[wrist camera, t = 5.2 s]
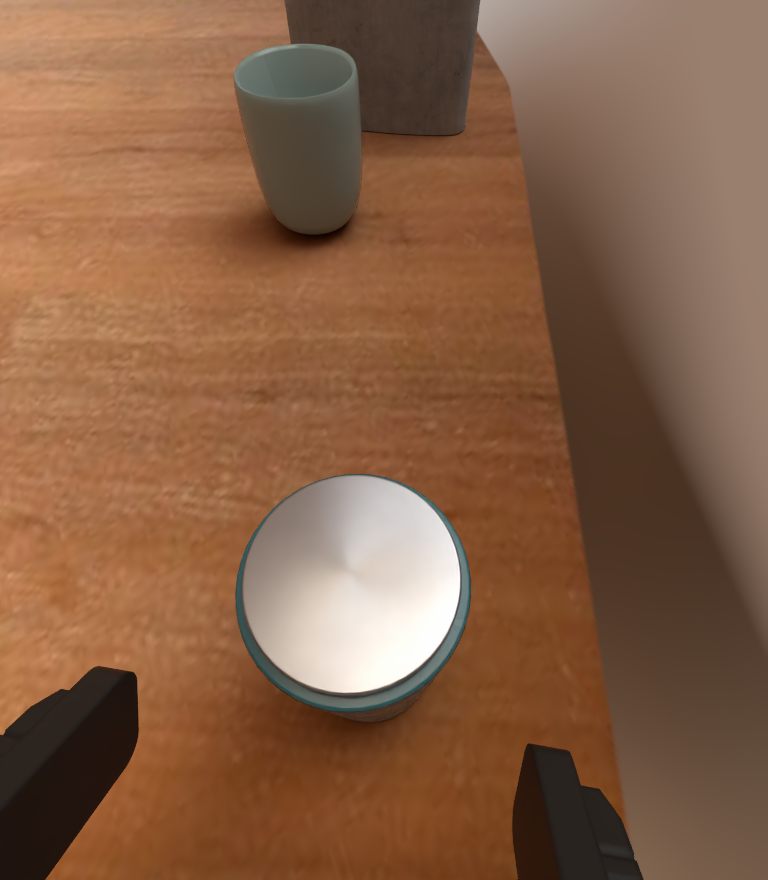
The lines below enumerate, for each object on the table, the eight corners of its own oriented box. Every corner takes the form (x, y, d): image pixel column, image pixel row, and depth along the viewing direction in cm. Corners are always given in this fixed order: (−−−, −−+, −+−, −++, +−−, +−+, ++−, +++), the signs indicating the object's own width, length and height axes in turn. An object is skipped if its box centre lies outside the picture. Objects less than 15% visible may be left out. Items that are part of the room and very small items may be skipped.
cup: (275, 189, 40) (244, 42, 32) (368, 190, 40) (362, 42, 31) (259, 249, 36) (219, 99, 28) (363, 250, 36) (354, 100, 27)
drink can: (405, 560, 24) (415, 436, 14) (459, 687, 21) (520, 646, 11) (287, 606, 23) (207, 507, 13) (326, 747, 20) (260, 761, 10)
